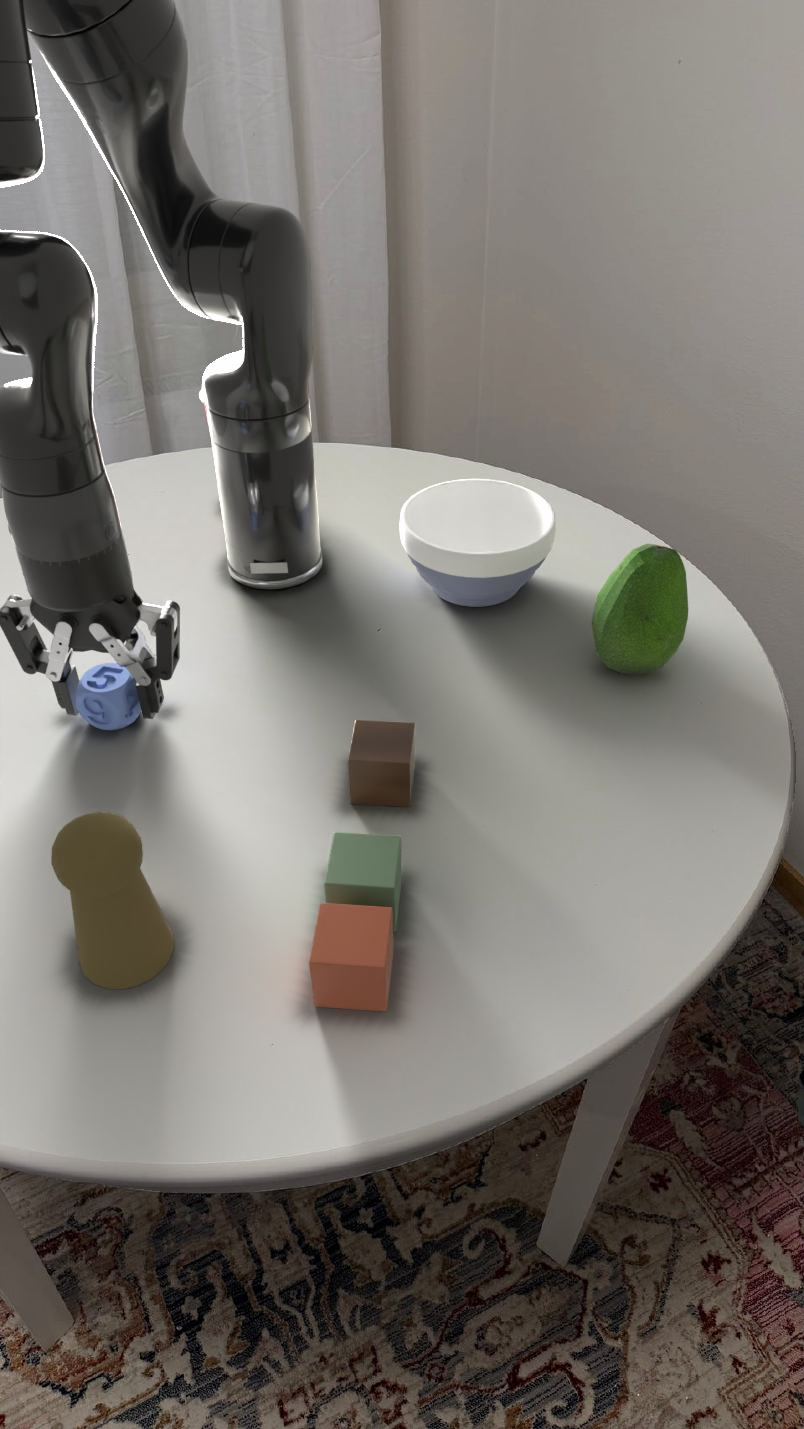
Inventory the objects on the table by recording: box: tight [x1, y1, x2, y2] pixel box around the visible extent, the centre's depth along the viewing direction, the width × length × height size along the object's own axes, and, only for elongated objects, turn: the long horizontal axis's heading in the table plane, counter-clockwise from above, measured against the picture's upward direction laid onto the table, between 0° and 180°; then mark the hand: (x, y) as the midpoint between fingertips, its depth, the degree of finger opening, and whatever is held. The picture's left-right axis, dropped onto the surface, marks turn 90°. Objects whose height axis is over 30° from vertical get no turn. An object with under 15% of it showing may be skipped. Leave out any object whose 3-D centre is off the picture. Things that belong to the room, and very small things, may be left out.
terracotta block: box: [308, 902, 395, 1013], centre depth 62 cm, size 4×4×4 cm
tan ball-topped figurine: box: [50, 811, 175, 990], centre depth 62 cm, size 6×6×11 cm
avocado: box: [591, 543, 689, 675], centre depth 84 cm, size 8×8×12 cm
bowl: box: [398, 478, 557, 608], centre depth 95 cm, size 14×14×8 cm
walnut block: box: [347, 719, 416, 808], centre depth 75 cm, size 4×4×4 cm
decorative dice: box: [76, 662, 142, 731], centre depth 82 cm, size 4×4×4 cm
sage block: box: [323, 831, 403, 933], centre depth 66 cm, size 4×4×4 cm
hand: (113, 710), depth 83 cm, fingers open, 5 cm apart
